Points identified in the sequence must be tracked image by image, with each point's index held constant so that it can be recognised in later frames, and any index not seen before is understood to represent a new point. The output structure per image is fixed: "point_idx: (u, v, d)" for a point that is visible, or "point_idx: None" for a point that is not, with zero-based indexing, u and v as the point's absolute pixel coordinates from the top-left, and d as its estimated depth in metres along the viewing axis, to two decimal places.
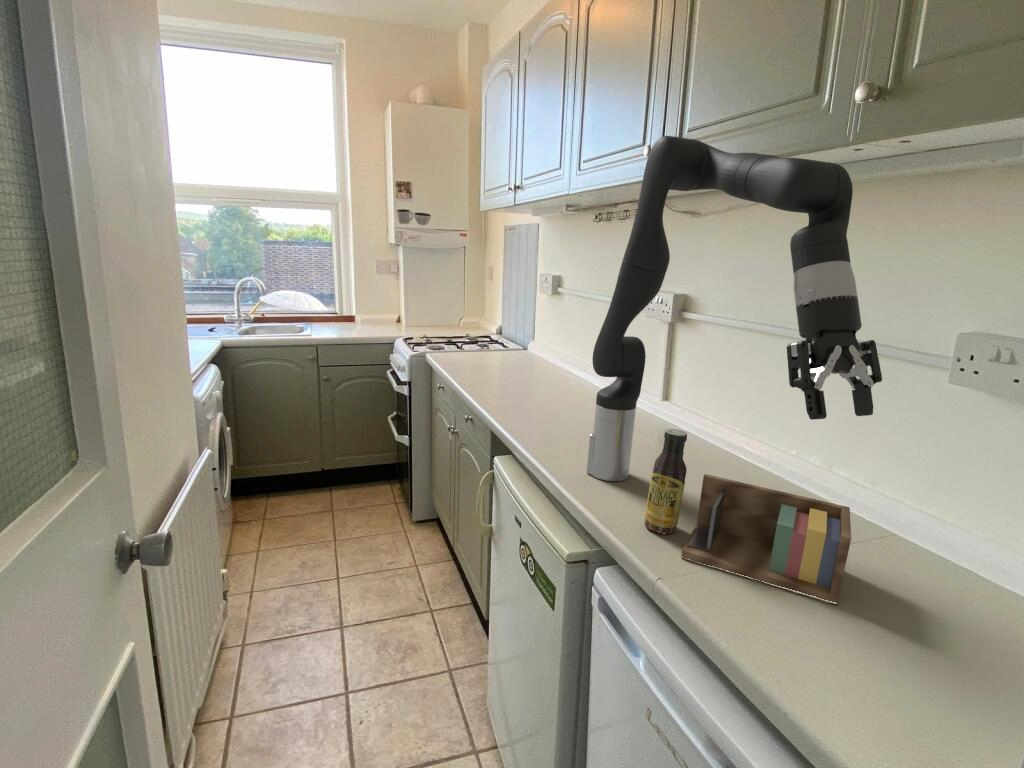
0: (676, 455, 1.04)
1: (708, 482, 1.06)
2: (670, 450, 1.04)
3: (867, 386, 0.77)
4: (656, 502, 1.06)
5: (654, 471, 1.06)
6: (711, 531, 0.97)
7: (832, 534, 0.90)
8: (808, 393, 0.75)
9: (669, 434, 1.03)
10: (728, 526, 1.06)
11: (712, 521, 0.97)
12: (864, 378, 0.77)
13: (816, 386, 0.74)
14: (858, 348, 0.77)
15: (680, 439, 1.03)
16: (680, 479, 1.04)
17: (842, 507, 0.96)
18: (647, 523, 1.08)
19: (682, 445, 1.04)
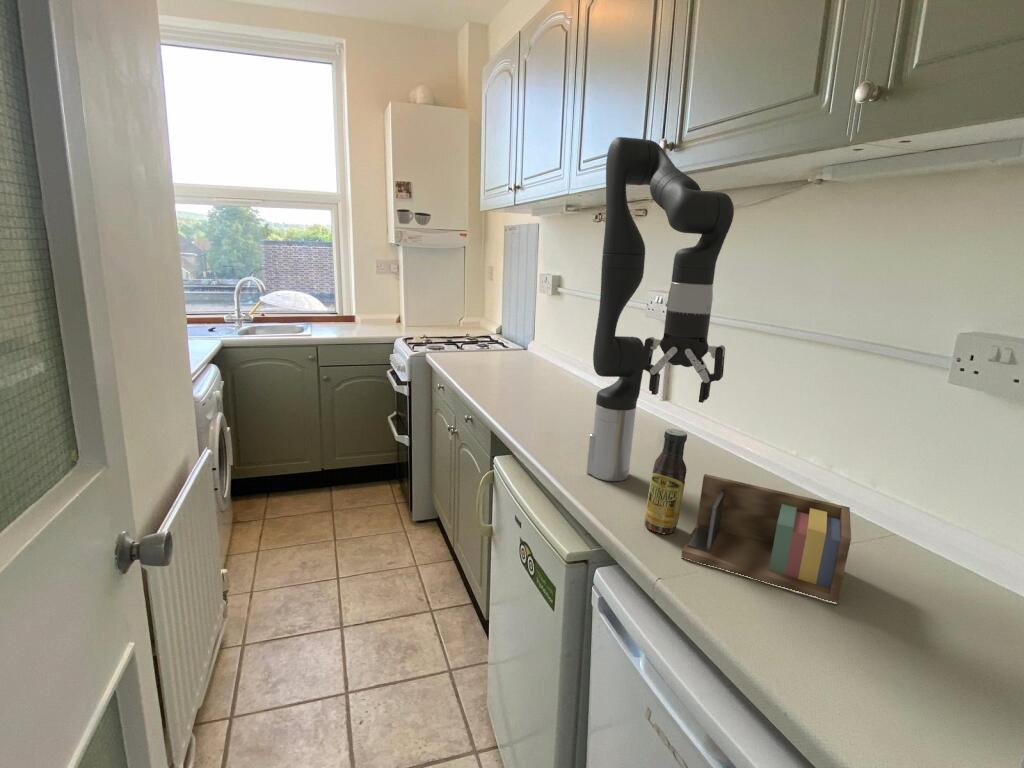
0: (676, 455, 1.04)
1: (708, 482, 1.06)
2: (670, 450, 1.04)
3: (703, 381, 0.99)
4: (656, 502, 1.06)
5: (654, 471, 1.06)
6: (711, 531, 0.97)
7: (832, 534, 0.90)
8: None
9: (669, 434, 1.03)
10: (728, 526, 1.06)
11: (712, 521, 0.97)
12: (700, 375, 0.99)
13: (651, 372, 1.04)
14: (702, 351, 0.99)
15: (680, 439, 1.03)
16: (680, 479, 1.04)
17: (842, 507, 0.96)
18: (647, 523, 1.08)
19: (682, 445, 1.04)
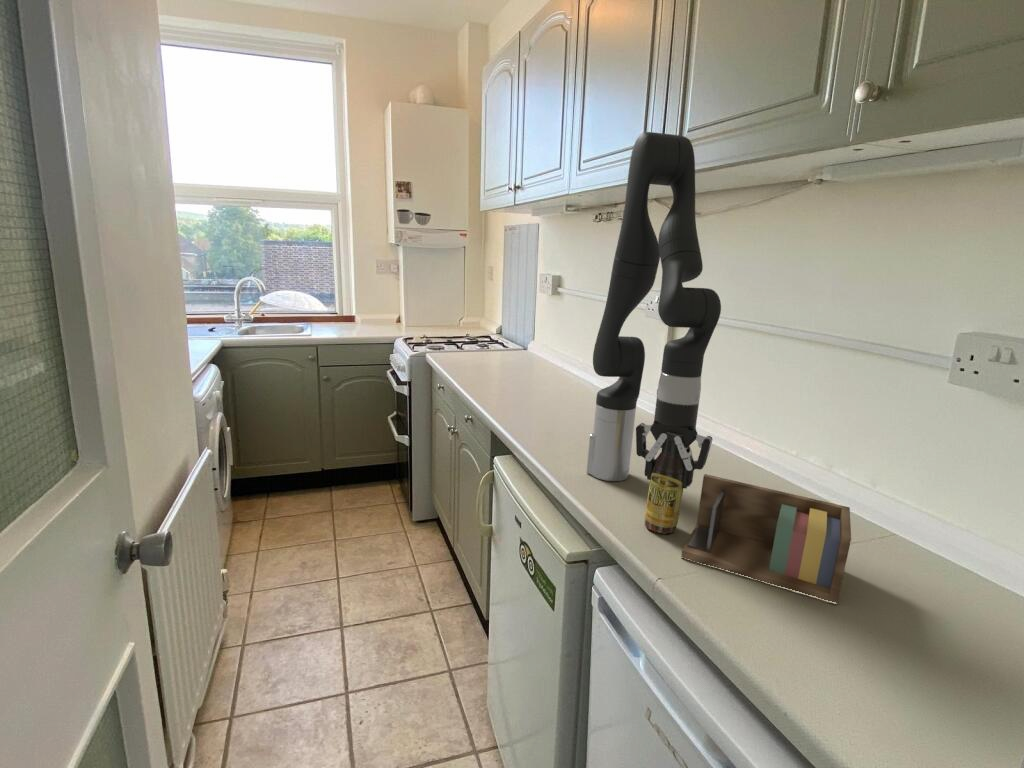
0: (675, 455, 1.04)
1: (708, 482, 1.06)
2: (669, 450, 1.04)
3: (686, 468, 1.04)
4: (655, 502, 1.06)
5: (653, 471, 1.06)
6: (711, 531, 0.97)
7: (832, 534, 0.90)
8: None
9: (668, 434, 1.03)
10: (728, 526, 1.06)
11: (712, 521, 0.97)
12: (684, 462, 1.03)
13: (646, 458, 1.07)
14: (690, 439, 1.02)
15: None
16: (679, 479, 1.04)
17: (842, 507, 0.96)
18: (647, 523, 1.08)
19: None
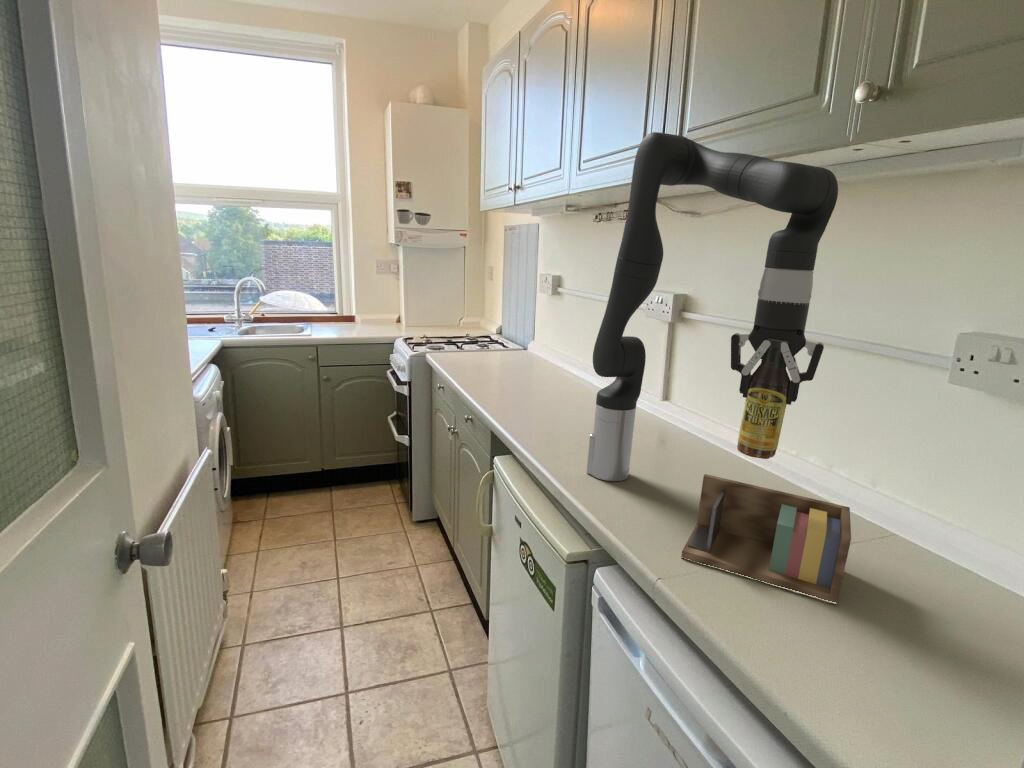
0: (779, 365, 0.90)
1: (708, 482, 1.06)
2: (772, 360, 0.90)
3: (792, 380, 0.90)
4: (754, 421, 0.92)
5: (752, 386, 0.92)
6: (711, 531, 0.97)
7: (832, 534, 0.90)
8: None
9: (772, 341, 0.90)
10: (728, 526, 1.06)
11: (712, 521, 0.97)
12: (791, 373, 0.90)
13: (743, 372, 0.93)
14: (799, 345, 0.89)
15: None
16: (784, 393, 0.90)
17: (842, 507, 0.96)
18: (742, 447, 0.95)
19: None
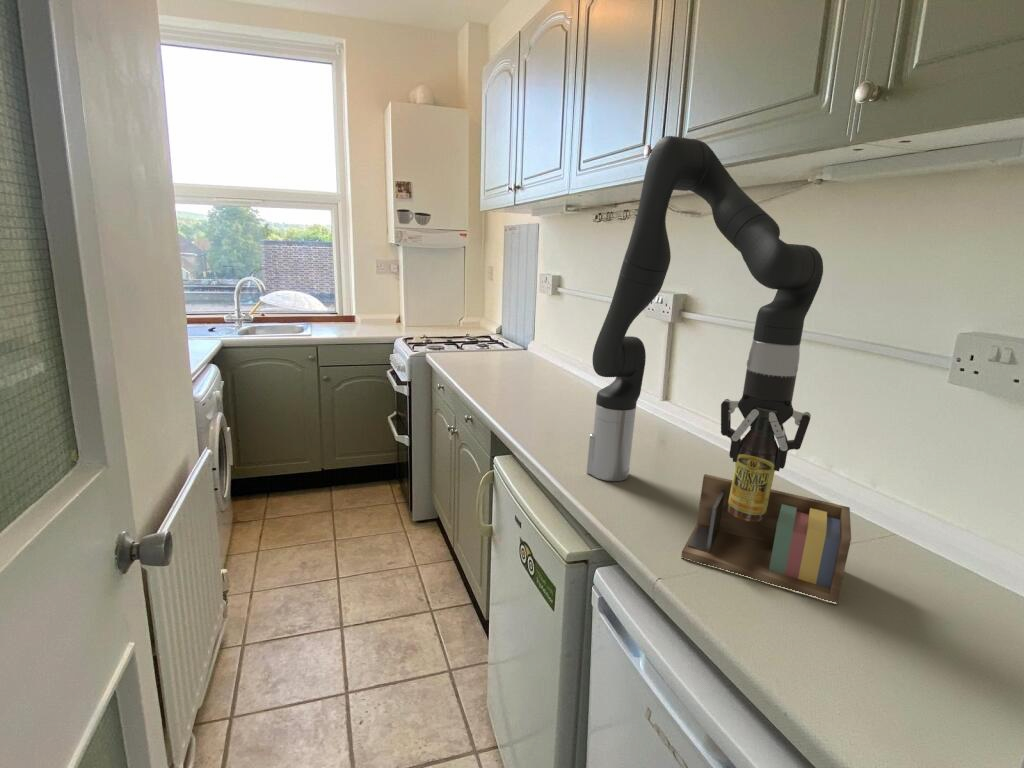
0: (768, 433, 0.93)
1: (708, 482, 1.06)
2: (761, 428, 0.93)
3: (780, 448, 0.93)
4: (744, 487, 0.95)
5: (741, 452, 0.95)
6: (711, 531, 0.97)
7: (832, 534, 0.90)
8: None
9: (760, 410, 0.92)
10: (728, 526, 1.06)
11: (712, 521, 0.97)
12: (778, 441, 0.93)
13: (732, 438, 0.96)
14: (787, 415, 0.91)
15: None
16: (772, 460, 0.93)
17: (842, 507, 0.96)
18: (732, 510, 0.97)
19: None
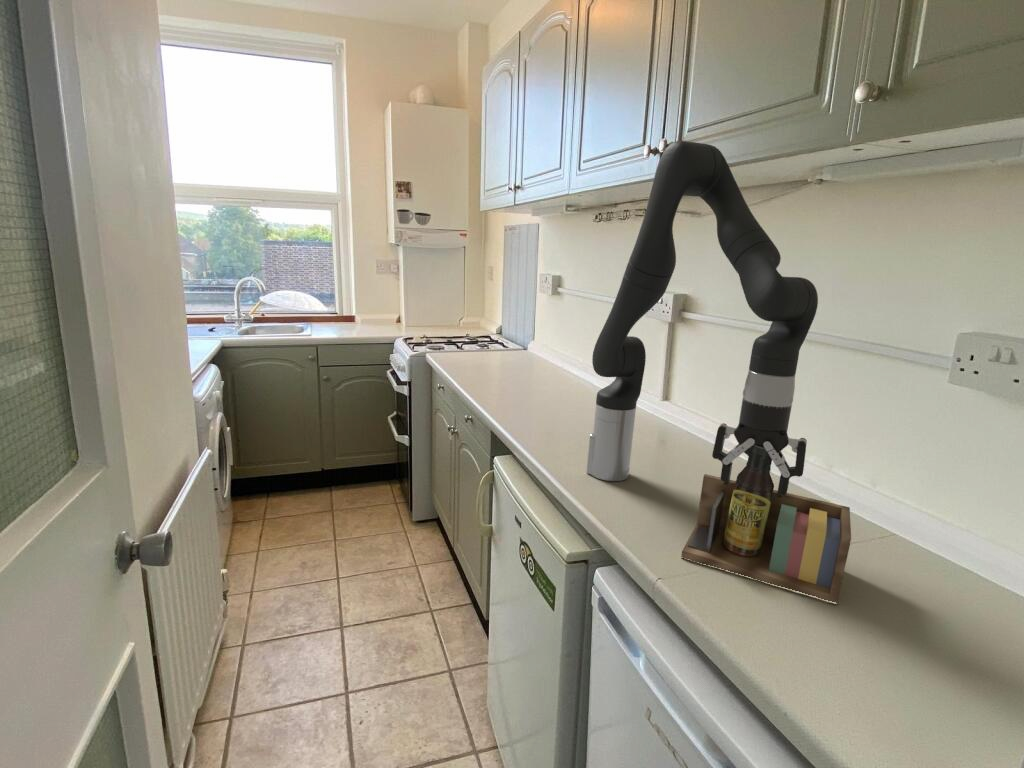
0: (763, 470, 0.94)
1: (708, 482, 1.06)
2: (757, 465, 0.94)
3: (783, 475, 0.93)
4: (739, 522, 0.96)
5: (737, 487, 0.97)
6: (711, 531, 0.97)
7: (832, 534, 0.90)
8: None
9: (756, 448, 0.94)
10: None
11: (712, 521, 0.97)
12: (780, 469, 0.93)
13: (723, 461, 0.97)
14: (783, 444, 0.92)
15: None
16: (767, 497, 0.94)
17: (842, 507, 0.96)
18: (727, 544, 0.99)
19: (770, 459, 0.94)
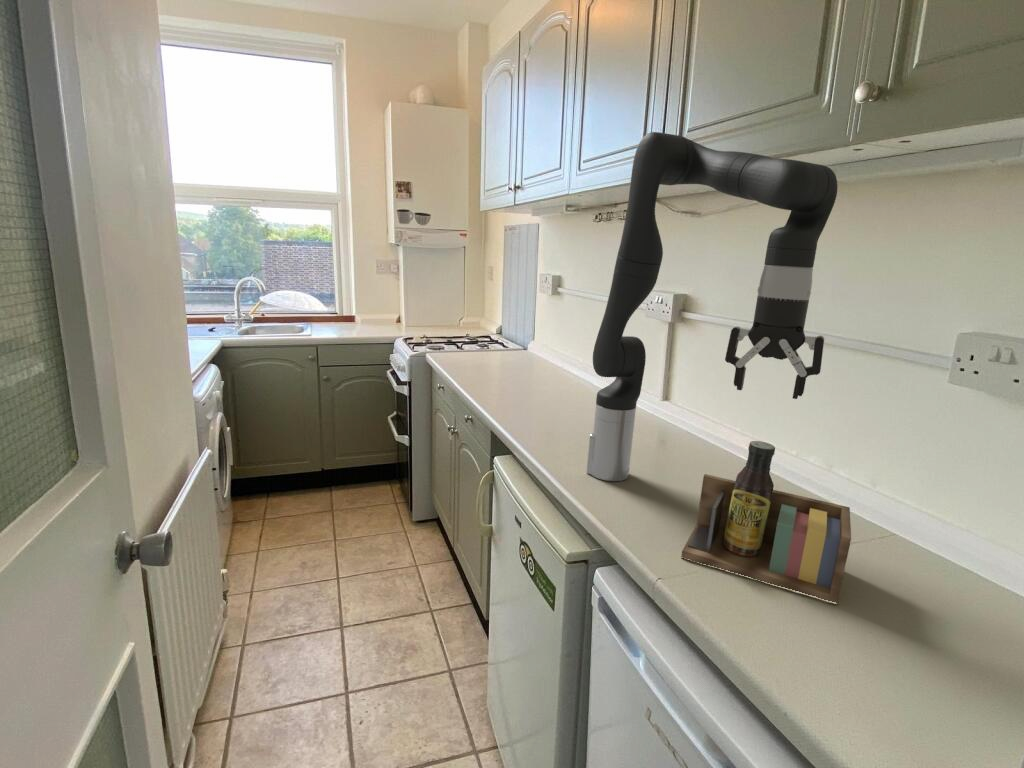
0: (763, 470, 0.94)
1: (708, 482, 1.06)
2: (756, 465, 0.94)
3: (799, 375, 0.90)
4: (739, 522, 0.96)
5: (737, 487, 0.97)
6: (711, 531, 0.97)
7: (832, 534, 0.90)
8: None
9: (755, 448, 0.94)
10: None
11: (712, 521, 0.97)
12: (796, 368, 0.90)
13: (737, 365, 0.94)
14: (799, 342, 0.89)
15: (768, 452, 0.93)
16: (767, 497, 0.94)
17: (842, 507, 0.96)
18: (727, 544, 0.99)
19: (770, 459, 0.94)
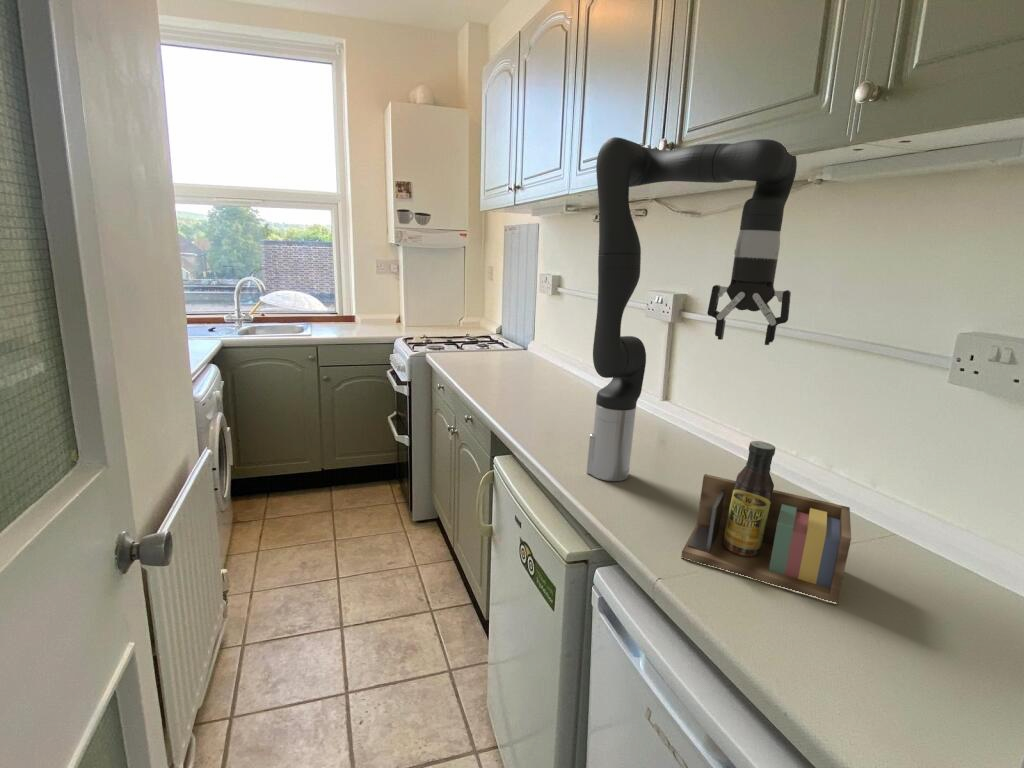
0: (763, 470, 0.94)
1: (708, 482, 1.06)
2: (756, 465, 0.94)
3: (770, 324, 1.05)
4: (739, 522, 0.96)
5: (737, 487, 0.97)
6: (711, 531, 0.97)
7: (832, 534, 0.90)
8: (717, 321, 1.11)
9: (756, 448, 0.94)
10: None
11: (712, 521, 0.97)
12: (767, 318, 1.05)
13: (717, 317, 1.09)
14: (769, 295, 1.04)
15: (768, 453, 0.93)
16: (767, 497, 0.94)
17: (842, 507, 0.96)
18: (727, 544, 0.99)
19: (770, 459, 0.94)
